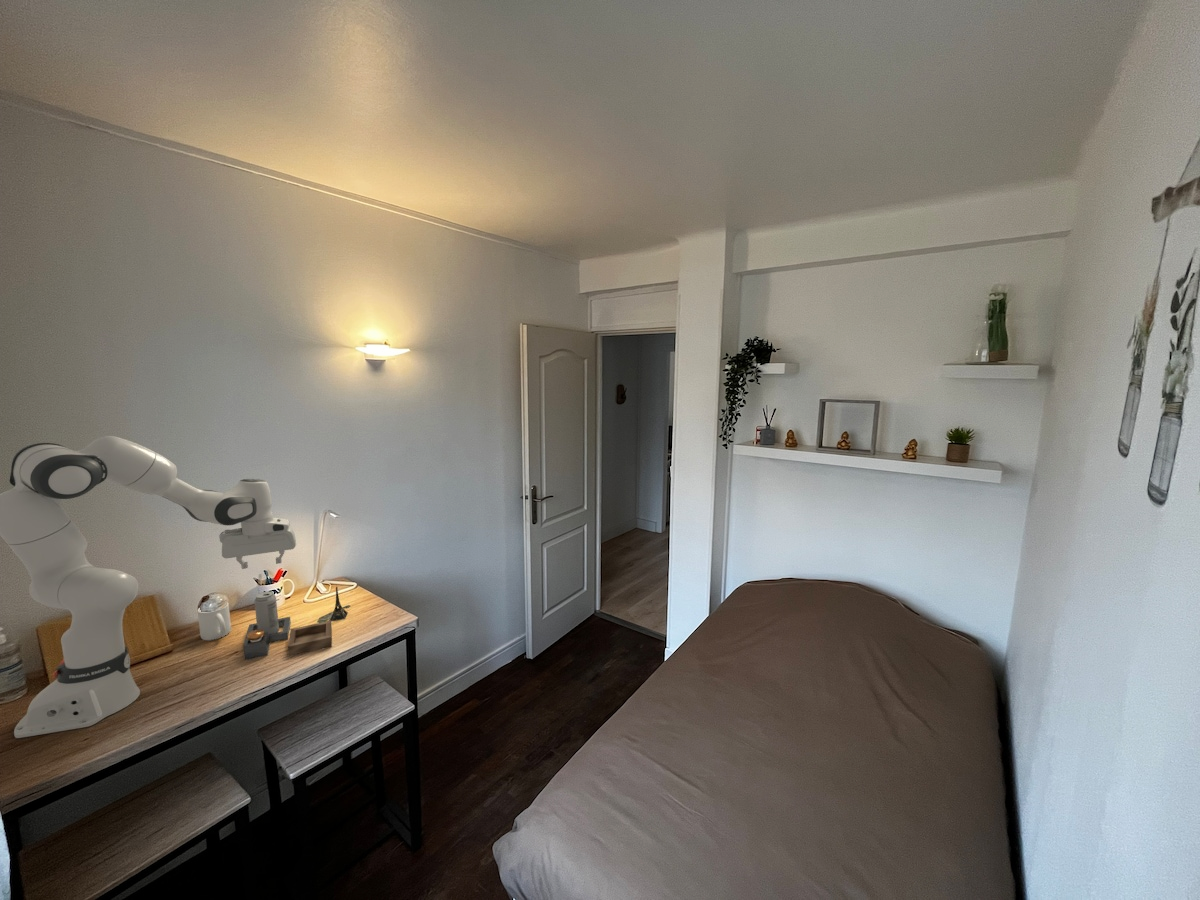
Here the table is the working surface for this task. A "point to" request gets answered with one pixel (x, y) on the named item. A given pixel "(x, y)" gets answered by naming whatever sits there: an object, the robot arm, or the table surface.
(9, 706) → the table surface
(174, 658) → the table surface
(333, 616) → the eiffel tower figurine
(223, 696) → the table surface
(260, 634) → the release plunger
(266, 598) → the energy drink can
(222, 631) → the mug
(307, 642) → the brown wooden tray
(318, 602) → the table surface
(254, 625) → the socket block
